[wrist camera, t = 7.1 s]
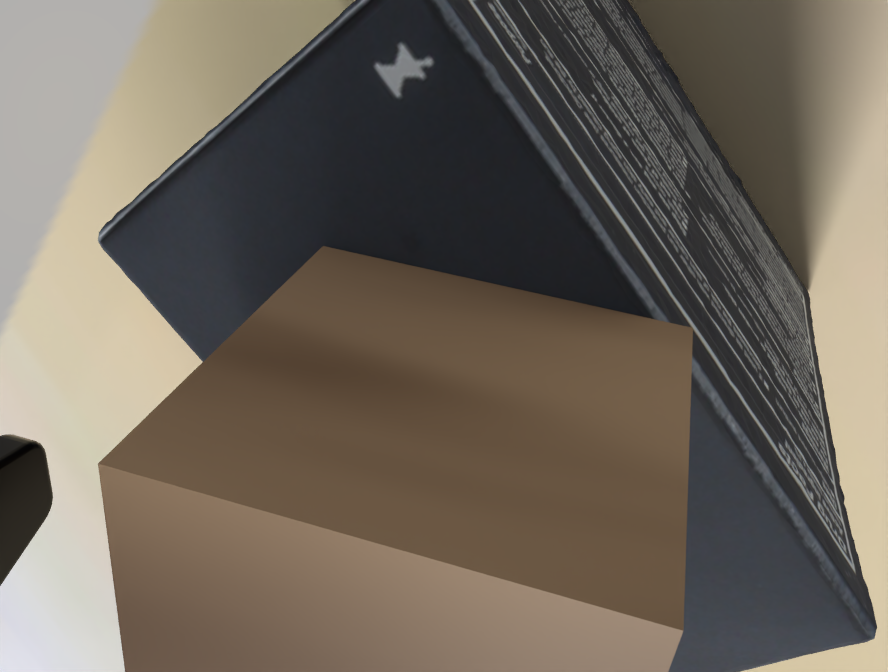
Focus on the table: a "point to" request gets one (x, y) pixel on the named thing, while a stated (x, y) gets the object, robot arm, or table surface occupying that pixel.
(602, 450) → the walnut cube
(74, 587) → the table surface
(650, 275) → the small box
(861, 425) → the table surface
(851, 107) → the table surface
